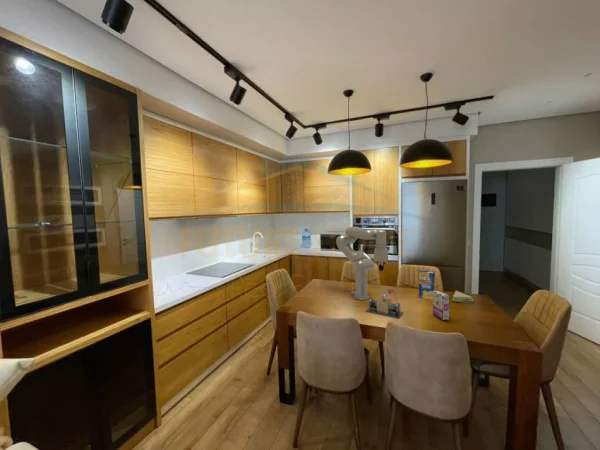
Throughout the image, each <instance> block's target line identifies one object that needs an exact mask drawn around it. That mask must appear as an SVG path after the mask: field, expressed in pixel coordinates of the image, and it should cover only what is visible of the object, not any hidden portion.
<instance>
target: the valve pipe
mask: <svg viewBox="0 0 600 450" xmlns="http://www.w3.org/2000/svg"><path fill="white" fill-rule="evenodd" d="M365 312H366V313H370V314H375V315H380V316H384V317H389V318H393V319H400V318H401V317H402V316H403V314H404V311H401V303H400V302H396V303H393V302H392V299H391V298H382V297H379V298H378V299H377V300H376V299H374V298H372V297H369V299H368V308H367V309H366V310H365Z"/></svg>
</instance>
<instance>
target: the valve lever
mask: <svg viewBox="0 0 600 450" xmlns="http://www.w3.org/2000/svg"><path fill="white" fill-rule="evenodd" d="M393 293H394V289H393V288H388V289H387V290H386V292H385V293H381V298H386V299H388V298H387V296H389V295H391V294H393Z"/></svg>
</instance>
